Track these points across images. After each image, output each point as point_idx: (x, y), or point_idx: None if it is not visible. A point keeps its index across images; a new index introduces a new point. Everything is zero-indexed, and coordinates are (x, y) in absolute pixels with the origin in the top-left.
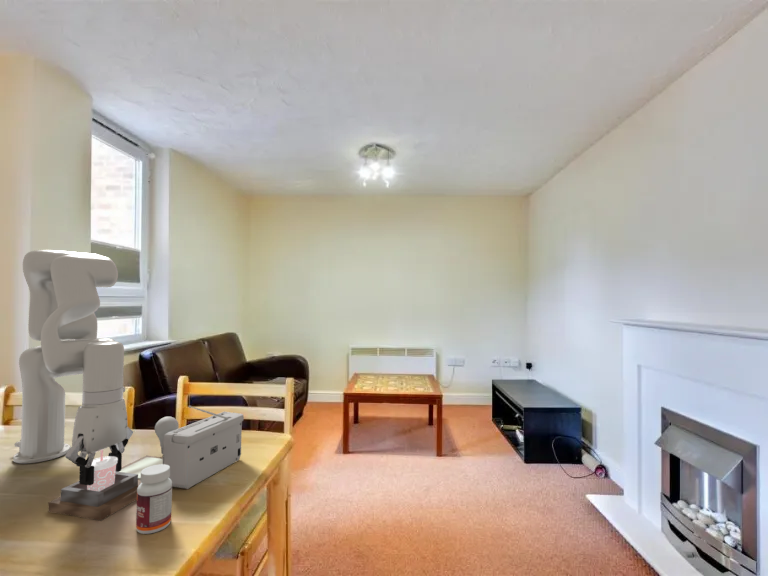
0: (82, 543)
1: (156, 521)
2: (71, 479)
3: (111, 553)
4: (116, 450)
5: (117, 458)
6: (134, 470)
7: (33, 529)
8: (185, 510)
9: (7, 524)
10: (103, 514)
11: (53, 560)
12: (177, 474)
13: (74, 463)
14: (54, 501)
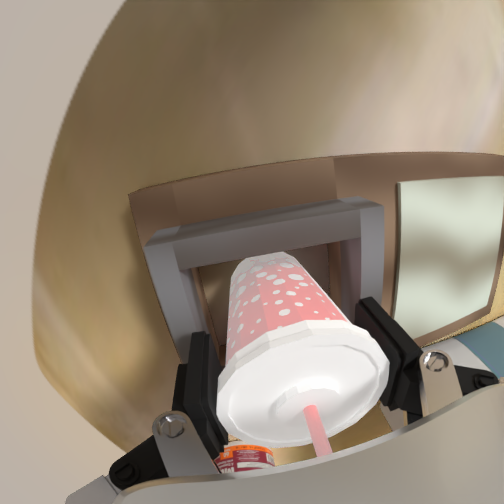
0: (136, 412)
1: None
2: (340, 3)
3: None
4: (409, 405)
5: (362, 415)
6: (439, 240)
7: (78, 271)
8: (305, 448)
9: (50, 165)
10: None
11: (90, 409)
12: (393, 416)
13: (131, 452)
14: (143, 210)
